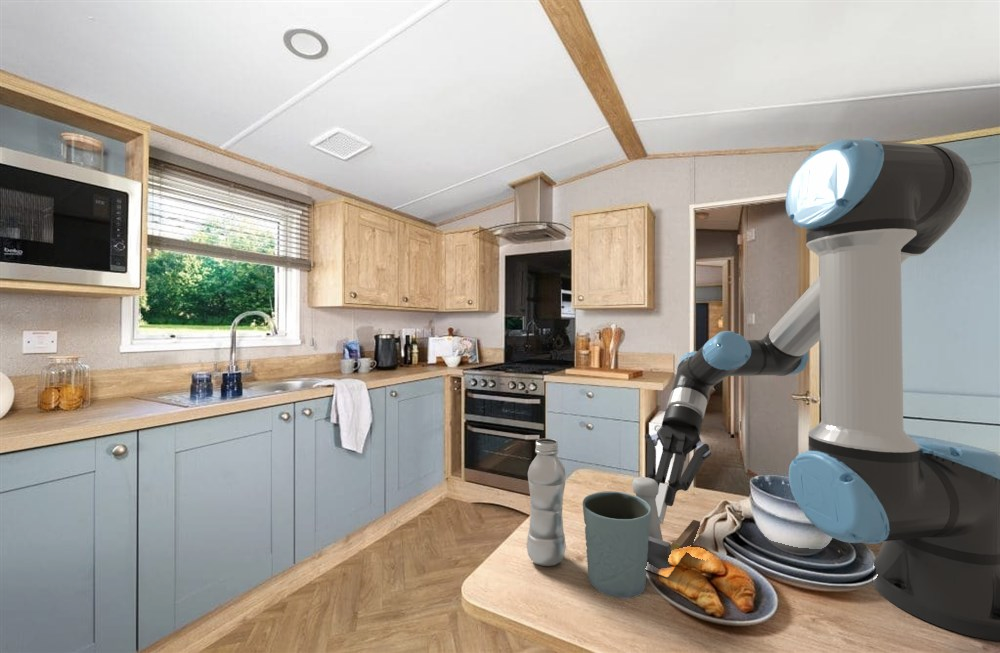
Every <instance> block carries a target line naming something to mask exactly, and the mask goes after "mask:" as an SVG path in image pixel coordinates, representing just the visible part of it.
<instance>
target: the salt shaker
mask: <svg viewBox="0 0 1000 653" xmlns="http://www.w3.org/2000/svg"><path fill="white" fill-rule="evenodd" d="M631 485H632V486H631V487H632V492H633V493H634V494H635V496H637V497H639V498H641V499H643V500H644V501H646V502H647V503H648V504H649V505H650V507H651V518H650V527H649V536H651V537H654V538H657V539H660V540H663V535H662V534H663V533H662V529H661V525H660V524H661V523H660V522H659V517H658V511H657V506H656V500H655V496H656V495H658V492H659V487H658V483H657V482H656V481H655V480H653V479H651V478H648V476H647V477H646V476H639V477H635V478H634V479H633V480H632V484H631ZM663 541H664V540H663Z"/></svg>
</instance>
